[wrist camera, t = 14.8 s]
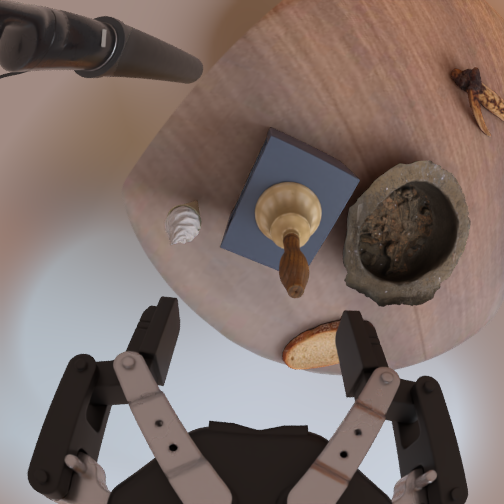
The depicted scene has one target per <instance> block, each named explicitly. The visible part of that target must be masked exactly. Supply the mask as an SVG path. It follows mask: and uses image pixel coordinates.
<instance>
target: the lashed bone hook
mask: <svg viewBox="0 0 504 504" xmlns="http://www.w3.org/2000/svg"><path fill="white" fill-rule="evenodd" d="M451 77H452V79H453V80H454V81H455V83H456V84H457V85H458V86H459V87H460V88H461V89H462V90H464V91H466V92H468V98H469V103H470V107H471V110H472V113H473V116H474V118H475V120H476V122H477V124H478V126H479V127H480V129H481V130H482V131H483V132H484V133H485V134H486V135H488V136H491V134H490V132H489V131H488V129H487V127H486V124H485V122H484V119H483V116H482V113H481V105H480V103H481V104H482V105H483V106H484V107H485V108H487V109H488V110H489V111H490V112H491V113H493V114H495V115H496V116H498V117H499V118H500V119H501V120H502V121H504V100H503V99H501V98H500V97H499V96H498V95H497V94H496V93H495V92H493V91H492V90H491V89H489V88H488V87H487V86H485V85H484V84H483V83H482V82H481V77H480V72H479V69H478V68H477V67H475V68H474V69H472V70H471V69H467V70H464V71H461V70H459V69H454V70H453V71H452V76H451Z"/></svg>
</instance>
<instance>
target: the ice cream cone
mask: <svg viewBox="0 0 504 504" xmlns="http://www.w3.org/2000/svg"><path fill="white" fill-rule="evenodd" d="M200 229H201V218H200V215H199V207H198V201H193V202H190V203H186V204H183V205H178V206H175V207H174V208H172V209H171V210H170V212H169V213H168V216H167V219H166V220H165V230H166V233H167V234H168V237H169V240H170V245H173V244H177V242H179V243H186V241H188V242H191V241H192V240H193V238H194V237H195V236H197V235H198V233H199V232H198V231H199V230H200Z"/></svg>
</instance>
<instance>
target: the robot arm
mask: <svg viewBox="0 0 504 504" xmlns="http://www.w3.org/2000/svg"><path fill="white" fill-rule="evenodd" d="M117 45H118V34H117V31H116V29H115V28H114V27H113V26H112V25H110V24H108V23H105V22H100V21H97V20H94V19H91V18H87V17H84V16H80V15H77V14H73V13H69V12H66V11H62V10H57V9H53V8H48V7H43V6H37V5H30V4H24V3H19V2H14V1H9V0H0V65H1V66H2V68H3V69H5V70H6V71H9V72H11V73H7V74H3V75H0V78H3V77H7V76H12V75H17V74H21V73H24V72H28V71H39V70H84V71H95V70H98V69H100V68H102V67H103V66H105V65H106V64H107V63H108V62H109V61H110V60H111V58H112V57H113V55H114V53H115V51H116V49H117ZM179 330H180V317H179V308H178V300H177V298H172V297H161V298H160V300H159V303H158V305H157V306H149V307H148V309H146V310H145V311H144V312H143V314H142V316H141V318H140V322H139V323H138V325H137V328H136V329H135V332H134V334H133V336H132V338H131V341H130V343H129V345H128V348H127V350H126V352H123V353H121V354H119V355H118V356H117V357H116V358H115V360H112V361H101V362H96V361H95V360H94V358H93V357H91V356H90V355H88V354H79V355H76V356H75V357H74V358H72V359H71V360H70V362H69V363H68V365H67V368H66V370H65V372H64V374H63V377H62V379H61V381H60V384H59V386H58V389H57V391H56V393H55V395H54V398H53V400H52V403H51V405H50V408H49V410H48V413H47V416H46V418H45V421H44V424H43V426H42V429H41V432H40V435H39V438H38V441H37V443H36V447H35V450H34V453H33V456H32V459H31V462H30V466H29V469H28V480H29V483H30V485H31V486H32V487H33V489H34V490H36V491H37V492H39V493H41V494H43V495H44V496H46V497H47V498H49V499H50V500H52V501H54V502H56V503H58V504H464V503H465V502H466V499H467V497H468V488H467V483H466V478H465V473H464V469H463V464H462V460H461V456H460V451H459V447H458V443H457V440H456V436H455V432H454V429H453V425H452V422H451V419H450V415H449V412H448V409H447V406H446V403H445V399H444V396H443V393H442V390H441V388H440V385H439V383H438V382H437V381H436V380H435V379H434V378H432V377H429V376H422V377H420V378H419V379H418V380H417V381H416V382H413V381H408V380H403V379H400V378H399V376H398V374H397V373H396V372H395V371H394V370H393V369H391V368H389V367H388V364H387V361H386V358H385V355H384V353H383V350H382V347H381V345H380V341H379V339H378V336H377V333H376V331H375V328H374V327H373V326H372V325H371V324H370V323H369V322H368V321H363V318H362V315H361V313H360V311H344V312H343V314H342V317H341V320H340V323H339V326H338V329H337V332H336V336H335V344H336V349H337V354H338V358H339V363H340V368H341V372H342V376H343V382H344V387H345V392H346V397H354V398H355V403H354V404H353V406H352V408H351V409H350V411H349V412H348V414H347V415H346V417H345V418H344V420H343V421H342V423H341V425H340V426H339V427H338V429H337V430H336V432H335V433H334V434H333V436H332V437H331V439H330V440H329V441H328V440H327V439H325V438H324V437H322V436H320V435H317V434H315V433H312V432H308V426H307V425H305V426H280V427H275V428H269V429H264V430H256V429H252V428H248V427H245V426H242V425H238V424H235V423H226V422H216V421H209V427H203V428H198V429H195V430H193V431H190V432H187V431H186V429H185V428H184V426H183V425H182V423H181V422H180V420H179V418H178V416H177V415H176V414H175V411H174V410H173V408H172V407H171V405H170V403H169V401H168V400H167V398H166V396H165V394H164V393H163V392H162V391H160V389H159V387H158V385H161V386H164V383H165V380H166V376H167V373H168V369H169V365H170V362H171V359H172V355H173V351H174V348H175V345H176V341H177V338H178V335H179ZM119 404H129V406H130V409H131V411H132V413H133V415H134V417H135V419H136V421H137V423H138V425H139V427H140V429H141V431H142V433H143V435H144V437H145V439H146V441H147V443H148V445H149V447H150V449H151V450H152V452H153V454H154V456H155V458H154V459H153V460H152V461H150V462H149V463H148V464H146V465H145V466H144V467H142V468H141V469H139V470H138V471H137V472H136V473H134V474H133V475H131V476H130V477H128V478H127V479H126V480H124V481H123V482H121V483H120V484H119V485H117V486H116V487H115V488H114V489H113V490H112V492H110V491H109V490H108V488H107V486H106V475H105V472H104V470H103V468H102V467H101V466H100V465H99V464H98V463H97V459H98V455H99V451H100V447H101V443H102V439H103V435H104V432H105V428H106V424H107V420H108V417H109V413H110V410H111V406H112V405H119ZM385 420H390V421H392V425H393V430H394V436H395V441H396V447H397V454H398V460H399V467H400V474H401V479H400V480H399V481H398V482H397V483H396V485H395V487H394V495H393V498H392V500H391V499H390V498H389V497H388V496H387V495H386V494H385V493H384V492H383V491H382V490H381V489H379V488H378V487H377V486H376V485H375V484H374V483H373V482H372V481H371V480H369V479H368V478H367V477H366V476H365V475H364V474H363V473H362V472H361V471H360V470H359V469H358V467H359V465H360V464H361V462H362V460H363V459H364V457H365V456H366V454H367V452H368V450H369V449H370V447H371V445H372V443H373V442H374V440H375V438H376V436H377V434H378V432H379V431H380V429H381V427H382V425H383V423H384V421H385Z"/></svg>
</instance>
